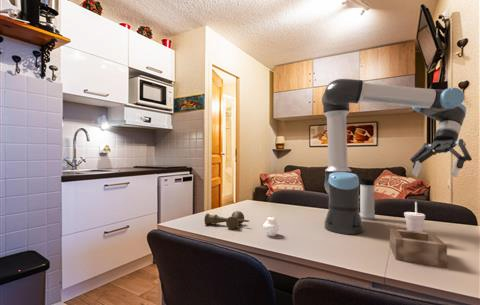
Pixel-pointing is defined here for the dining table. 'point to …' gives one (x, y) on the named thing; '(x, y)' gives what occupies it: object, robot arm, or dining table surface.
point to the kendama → (226, 220)
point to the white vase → (271, 226)
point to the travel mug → (367, 199)
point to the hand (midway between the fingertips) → (432, 175)
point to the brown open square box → (418, 247)
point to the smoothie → (414, 220)
